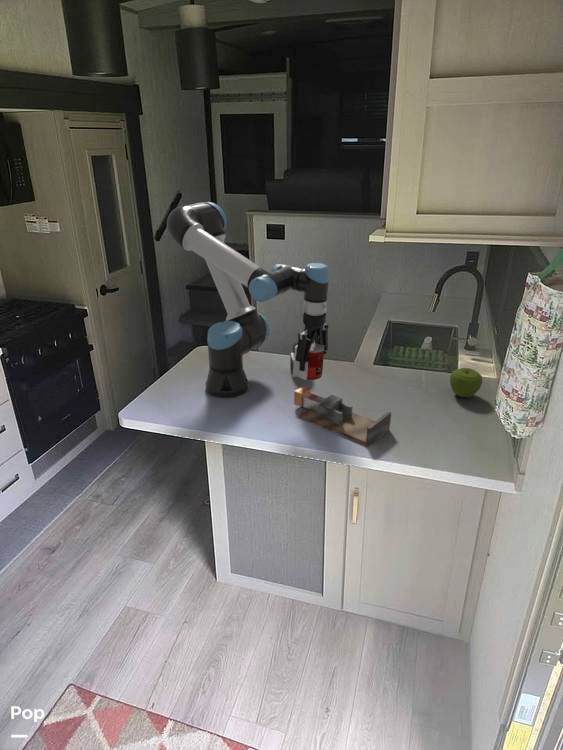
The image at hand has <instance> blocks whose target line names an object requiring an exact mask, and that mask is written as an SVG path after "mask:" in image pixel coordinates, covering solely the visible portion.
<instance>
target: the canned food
mask: <svg viewBox="0 0 563 750" xmlns="http://www.w3.org/2000/svg"><path fill="white" fill-rule="evenodd" d="M324 356H325V354H324V345H322V344H321V345H319V344H317V343H315V341H314V342H313V343H312V345H311V348H310V350H309V355H308V358H307V362H308V372H307V380H308V381H309V380H310V381H314V380H319V379H320V378H322V376H323V369H324V359H325V358H324ZM299 373H300V370H299Z"/></svg>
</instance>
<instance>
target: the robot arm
mask: <svg viewBox="0 0 563 750" xmlns="http://www.w3.org/2000/svg"><path fill="white" fill-rule="evenodd" d="M166 220H167V221H166V228H167V233H168V235H169V236H170V238H171V239H172V240H173V242H174V243H176V245H177V246H179V247H180V248H182V249H183V250H185V251H188V252H191V251H192V252H193V253H195V254H197V255H198V256H200V257H201V258H203V259H204V261H205V263H206V265H207V267H208V269H209V272H210V275H211V277H212V279H213V281H214V284H215V287H216V289H217V291H218V294H219V296H220V298H221V301H222V303H223V305H224V308H225V310H226V311H225V312H226V314H227V316H226V318H225V320H224V321H223V322H222V321H219V322H217V323H215V324H213V325H211V326H210V327H209V328H208V330H207V340H206V342H207V353H208V363H209V370H208V374H207V379H206V381H205V391H206V393H207V394H208V395H210V396H213V397H215V398H220V399H221V398H222V399H229V398H235V397H236V398H237V397H239V396H243V394H246V392H247V391H248V390H249V380H248V378H247V374H246V373H245V372H246V371H245V369H244V365H243V364H244V362H243V361H244V360H243V359H244V358H243V356H244V355H246V354H247V353H249V352H251V351H252V350H254V349H257V348H260V347H261V346H262V345H263V344H265V343H266V342H267V340H268V339H269V336H270V332H271V329H270V328H271V327H270V324H269V321H268V318H266V316H265V315H264V316H263V314H262V313H260V312H258V311H257V308H256V306H255V307H254V306H253V305H251V304H250V302H249V299H248V297H247V295H246V293H245V290H244V288H243V286H245V287H246V288H248V291H249V295H250V296H251V297H252V299H253V300H254V301H255V302H259V303H264V302H267V301H271V300H273V299H274V298H276V297H278V296H280V295H283V294H285V293H287V292H289V291H295V292H300V293H303V306H302V307H303V308H302V309H303V313H302V323H303V325H304V329H303V332H298V334H297V338H298V339H297V342H298V346H297V352H296V359H295V360H296V361H298V362H300V368H299V369H300V377H298V378H300V379H302V380H305V381H307V380H308V379H307V372H308V362H307V358H308V355H309V350H310V348H311V345H312V343H313V342H315V343H317V344H319V345H321V344H322V345H323V346H324V355H326V354H327V351H328V349H329V348H328V347H329V342H328V341H329V340H328V339H329V336H328V333H329V332H328V329H329V324H327V323H326V321H327V313H326V312H327V304H328V293H329V292H328V291H329V282H330V278H329V277H330V268H329V266H328V265H327V264H324V263H320V262H319V263H317V262H311V263H307V264H306V265H305V267H304V268H302V267H298V266H294V265H289V264H287V263H286V264H283V263H282V264H281V263H278V264H277V263H276V264H274V266H273V268H271V271H270V272H269V271H268V270H266V269H264V268H263V267H261V266H259V265H258V264H256V263H255V262H253V261H251V260H250V259H248V258H247V257H246V256H244V255H242V254H241V253H239V251H237V250H235V249H234V248H232V247H230V246H229V245H227V244H226V242H225V239H226V236H227V235H226V232H225V230H226V227H227V225H226V224H227V217H226V214H225V212H224V211H223V209H222V208H221V206H219V205H218V204H216V203H214V202H211V201H201V202H197V203H192V204H191V203H190V204H188V205H186V204H185V205H180V206H178V207H175V208H174V209H172V211H171V212H170V213H169V214H168V217H167V219H166Z"/></svg>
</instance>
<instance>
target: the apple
mask: <svg viewBox="0 0 563 750" xmlns="http://www.w3.org/2000/svg"><path fill="white" fill-rule="evenodd" d="M449 379H450V380H449V383H450V384H449V385H450V386H451V390H452V392H453V393H454V394H455V395H457V396H458V397H461V398H463V397H468V398H471V397H473V396H474V395H475V394H476V393H477V392H478V391H479V390H480V389H481V386H482V384H483V376H482V375H481V374H480V373H479V372H478V371H477V370H475V369H473V368H470V367H469V368H468V367H461V368H458V369H454V370H453V371H452V372H451V374H450V375H449Z"/></svg>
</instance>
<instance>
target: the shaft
mask: <svg viewBox="0 0 563 750" xmlns="http://www.w3.org/2000/svg"><path fill="white" fill-rule="evenodd" d="M324 399H326V397H321V396H319V395H316V394H315V393H312V390H311V388H309V387H307V386H305V385H303V386H301V387H299V388H298V389H296V390H294V399H293V401H294V402H293V404H294V405H295V406H298V407H301V408H306V409H310V410H313V411H315V412H317V405H318V404H320V402H321V401H322V400H324ZM339 405H340V404H338V405H336V406H335V407H333V408H332V409H334V410H337V411H339Z"/></svg>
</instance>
